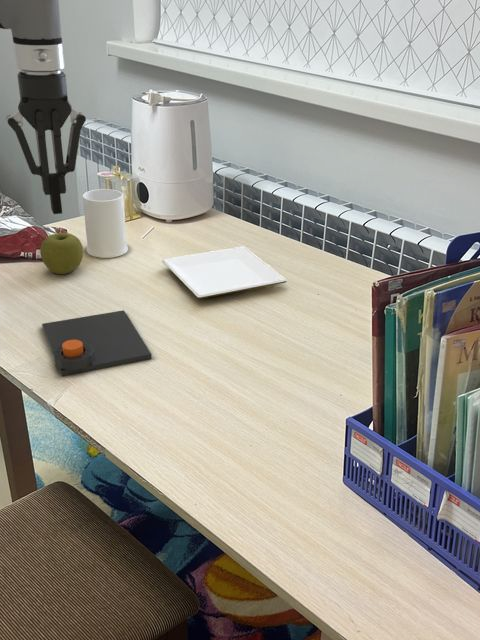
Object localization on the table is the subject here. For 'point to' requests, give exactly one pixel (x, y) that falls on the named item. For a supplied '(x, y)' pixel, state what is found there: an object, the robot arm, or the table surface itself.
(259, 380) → the table surface
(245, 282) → the plate
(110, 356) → the scale
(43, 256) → the apple
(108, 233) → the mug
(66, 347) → the button
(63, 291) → the table surface
